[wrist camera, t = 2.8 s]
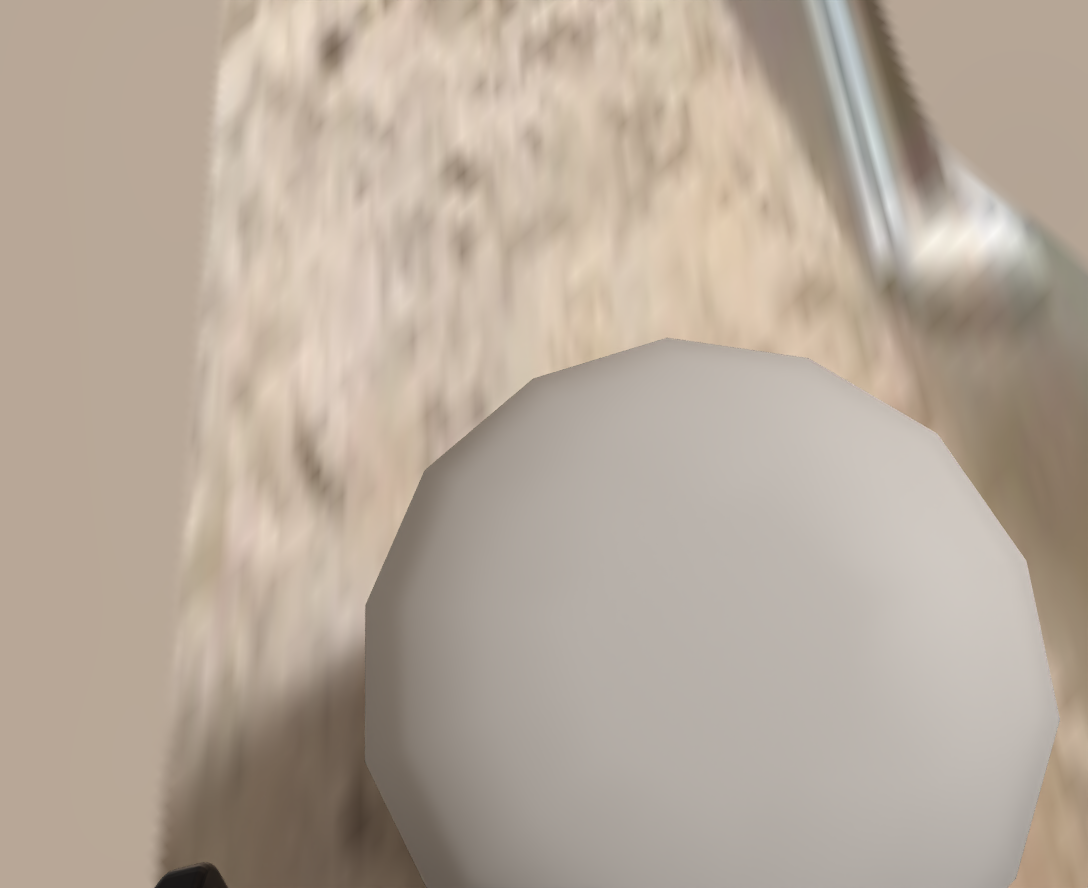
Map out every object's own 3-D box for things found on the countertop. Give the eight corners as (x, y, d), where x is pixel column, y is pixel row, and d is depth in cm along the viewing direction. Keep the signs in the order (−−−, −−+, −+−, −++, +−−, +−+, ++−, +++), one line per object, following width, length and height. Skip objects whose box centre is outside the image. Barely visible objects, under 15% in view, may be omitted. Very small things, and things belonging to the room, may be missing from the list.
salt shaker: (620, 953, 17) (687, 1643, 4) (407, 695, 18) (-24, 629, 6) (859, 715, 17) (1507, 691, 5) (637, 486, 19) (716, 19, 6)
